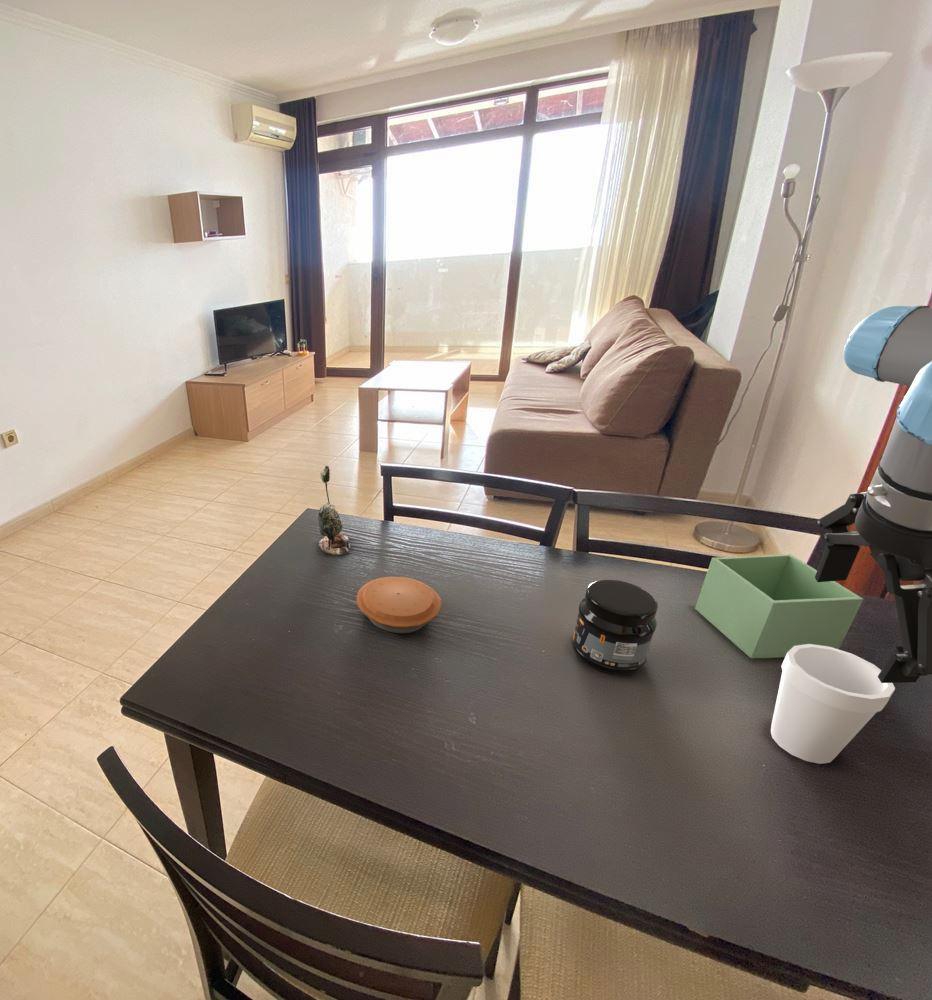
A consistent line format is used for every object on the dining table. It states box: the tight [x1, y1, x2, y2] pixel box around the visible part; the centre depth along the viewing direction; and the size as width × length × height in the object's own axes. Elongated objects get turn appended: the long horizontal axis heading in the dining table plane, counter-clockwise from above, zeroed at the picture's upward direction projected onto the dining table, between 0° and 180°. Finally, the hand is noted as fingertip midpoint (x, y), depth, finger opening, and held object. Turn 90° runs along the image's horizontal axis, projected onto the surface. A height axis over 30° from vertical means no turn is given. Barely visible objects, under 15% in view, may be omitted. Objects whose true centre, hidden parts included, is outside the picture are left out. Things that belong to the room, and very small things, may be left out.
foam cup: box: [770, 644, 896, 765], centre depth 69 cm, size 10×9×13 cm
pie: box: [356, 576, 442, 634], centre depth 102 cm, size 15×16×5 cm
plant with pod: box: [317, 465, 352, 556], centre depth 123 cm, size 8×11×20 cm
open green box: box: [694, 553, 864, 659], centre depth 89 cm, size 13×13×11 cm
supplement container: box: [571, 579, 659, 676], centre depth 87 cm, size 10×10×12 cm
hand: (860, 625), depth 64 cm, fingers open, 13 cm apart
